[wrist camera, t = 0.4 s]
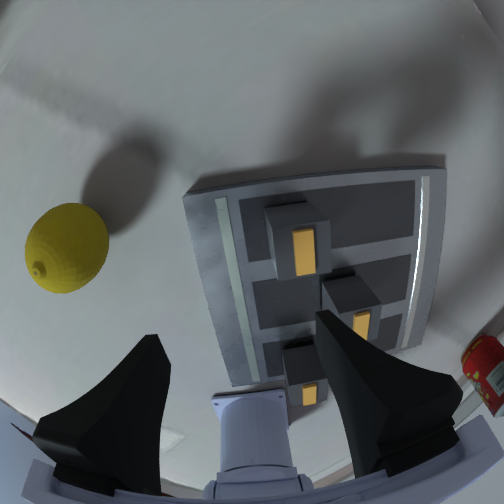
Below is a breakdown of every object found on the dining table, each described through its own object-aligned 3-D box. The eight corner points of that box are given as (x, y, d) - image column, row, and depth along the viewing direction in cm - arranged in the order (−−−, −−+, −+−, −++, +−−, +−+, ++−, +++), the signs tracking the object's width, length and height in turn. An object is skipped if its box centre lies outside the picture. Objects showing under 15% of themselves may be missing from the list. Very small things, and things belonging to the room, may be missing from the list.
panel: (414, 335, 26) (421, 344, 24) (232, 375, 26) (232, 387, 24) (435, 166, 18) (447, 169, 17) (186, 192, 18) (181, 197, 17)
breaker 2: (316, 366, 23) (327, 402, 19) (283, 372, 23) (291, 410, 19) (316, 343, 22) (329, 380, 18) (281, 350, 22) (289, 388, 18)
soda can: (450, 363, 29) (491, 422, 18) (481, 324, 27) (531, 379, 16) (466, 369, 31) (502, 420, 19) (493, 335, 29) (535, 383, 17)
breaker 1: (313, 245, 19) (333, 274, 15) (269, 251, 19) (279, 284, 15) (310, 201, 17) (331, 221, 13) (263, 208, 17) (272, 230, 13)
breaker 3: (357, 307, 21) (378, 341, 17) (322, 314, 21) (338, 351, 17) (359, 275, 20) (384, 306, 16) (321, 282, 20) (340, 316, 16)
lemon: (109, 181, 18) (46, 211, 10) (134, 250, 20) (90, 309, 13) (57, 205, 18) (-7, 241, 11) (81, 266, 20) (31, 320, 13)
